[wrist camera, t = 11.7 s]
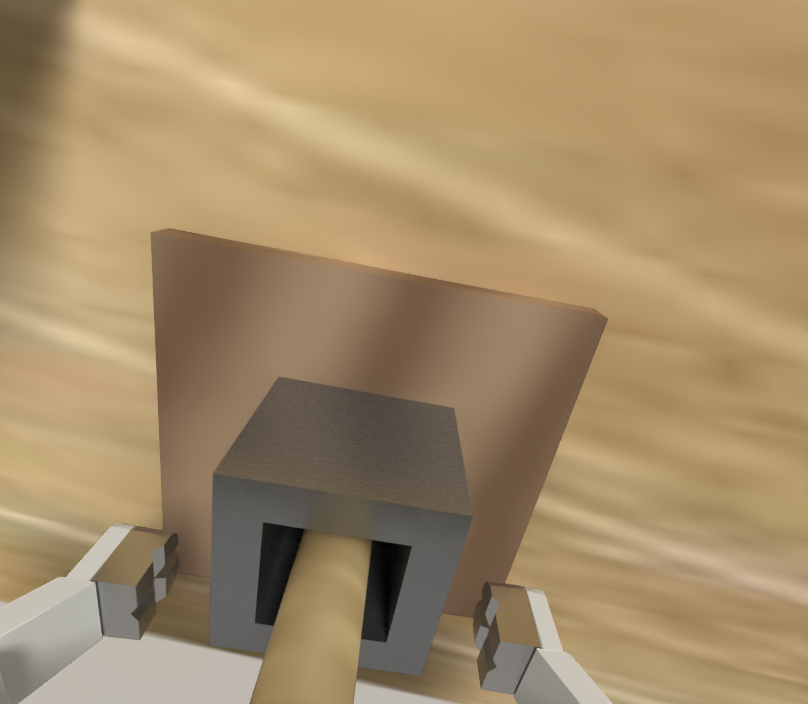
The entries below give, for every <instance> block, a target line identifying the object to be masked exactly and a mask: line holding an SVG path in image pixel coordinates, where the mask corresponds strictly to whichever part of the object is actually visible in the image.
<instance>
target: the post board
mask: <svg viewBox="0 0 808 704" xmlns="http://www.w3.org/2000/svg"><path fill="white" fill-rule="evenodd" d="M151 250H152V273H153V297H154V321H155V344H156V368H157V392H158V415H159V439H160V462H161V486H162V510H163V531H167V532H172V533H176V534H178V541H179V544H178V545H177V547H176V548H175V550H174V551H175V552H176V553H177V554H178V556H179V566H178V572H177V573H179V574H185V575H192V576H199V577H205V578H211V538H212V490H213V472H214V471H215V469H216V468H217V466H218V465H219V463H220V462H221V460H222V459H223V458H224V456H225V455H226V453H227V452H228V450H229V449H230V447H231V446H232V444H233V443H234V441H235V440H236V439H237V437H238V436H239V434H240V433H241V431H242V430H243V428H244V427H245V425H246V424H247V422H248V421H249V419H250V418H251V417H252V415H253V414H254V412H255V411H256V409H257V408H258V406H259V405H260V403H261V402H262V400H263V399H264V397H265V396H266V395H267V393H268V392H269V390H270V389H271V387H272V386H273V384H274V383H275V381H276V380H277V378H278V377H284V378H290V379H296V380H301V381H307V382H312V383H318V384H323V385H329V386H335V387H340V388H346V389H351V390H357V391H362V392H368V393H374V394H379V395H385V396H390V397H396V398H401V399H407V400H413V401H418V402H424V403H429V404H435V405H441V406H446V407H452V408H454V410H455V416H456V421H457V427H458V433H459V438H460V444H461V450H462V456H463V461H464V467H465V473H466V479H467V484H468V490H469V496H470V502H471V507H472V513H473V518H472V521H471V524H470V527H469V530H468V533H467V537H466V540H465V543H464V546H463V549H462V552H461V555H460V558H459V561H458V564H457V567H456V570H455V573H454V576H453V579H452V582H451V585H450V588H449V591H448V594H447V597H446V601H445V604H444V607H443V610H442V613H444V614H451V615H458V616H464V617H471V618H474V611H475V608H476V605H477V602H478V601H480V600H482V599H483V597H482V588H483V586H484V584H485V583H486V581H489V582H496V583H504V584H505V581H506V579H507V576H508V574H509V571H510V569H511V566H512V564H513V561H514V558H515V556H516V553H517V551H518V548H519V546H520V543H521V540H522V538H523V535H524V533H525V530H526V528H527V525H528V523H529V520H530V517H531V515H532V512H533V510H534V507H535V505H536V502H537V500H538V497H539V494H540V492H541V489H542V487H543V484H544V482H545V479H546V476H547V474H548V471H549V469H550V466H551V464H552V461H553V459H554V456H555V453H556V451H557V448H558V446H559V443H560V441H561V438H562V436H563V433H564V430H565V428H566V425H567V423H568V420H569V418H570V415H571V412H572V410H573V407H574V405H575V402H576V400H577V397H578V395H579V392H580V389H581V387H582V384H583V382H584V379H585V377H586V374H587V371H588V369H589V366H590V364H591V361H592V359H593V356H594V354H595V351H596V348H597V346H598V343H599V341H600V338H601V336H602V333H603V331H604V328H605V325H606V323H607V320H608V319H607V318H606V317H605V316H603V315H602V314H600V313H599V312H598V311H596V310H594V309H589V308H584V307H578V306H573V305H568V304H563V303H557V302H552V301H547V300H542V299H536V298H531V297H526V296H521V295H515V294H510V293H505V292H500V291H494V290H489V289H484V288H479V287H473V286H468V285H463V284H458V283H452V282H447V281H442V280H437V279H431V278H426V277H421V276H416V275H410V274H405V273H400V272H395V271H389V270H384V269H379V268H374V267H368V266H363V265H358V264H353V263H348V262H342V261H337V260H332V259H327V258H321V257H316V256H311V255H306V254H300V253H295V252H290V251H285V250H279V249H274V248H269V247H264V246H258V245H253V244H248V243H243V242H237V241H232V240H227V239H222V238H216V237H211V236H206V235H201V234H195V233H190V232H185V231H180V230H174V229H164V230H159V231H154V232H151ZM371 547H372V540H371V539H364V538H358V537H352V536H346V535H340V534H333V533H327V532H321V531H315V530H309V529H304V531H303V535H302V538H301V541H300V544H299V547H298V551H297V554H296V557H295V560H294V563H293V567H292V570H291V573H290V576H289V579H288V583H287V586H286V589H285V592H284V595H283V598H282V602H281V605H280V608H279V611H278V614H277V618H276V621H275V624H274V627H273V630H272V634H271V637H270V640H269V643H268V646H267V650H266V653H265V656H264V659H263V662H262V666H261V669H260V672H259V675H258V678H257V682H256V685H255V688H254V691H253V694H252V697H251V701H250V704H353V703H354V694H355V685H356V677H357V668H358V659H359V651H360V642H361V634H362V625H363V616H364V608H365V599H366V590H367V582H368V573H369V564H370V556H371Z"/></svg>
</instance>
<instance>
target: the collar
mask: <svg viewBox="0 0 808 704" xmlns="http://www.w3.org/2000/svg"><path fill="white" fill-rule="evenodd" d="M472 518H473V513H472V507H471V502H470V496H469V490H468V484H467V479H466V473H465V467H464V461H463V456H462V450H461V444H460V438H459V433H458V427H457V421H456V416H455V410H454V408H452V407H446V406H441V405H435V404H429V403H424V402H418V401H413V400H407V399H401V398H396V397H390V396H385V395H379V394H374V393H368V392H362V391H357V390H351V389H346V388H340V387H335V386H329V385H323V384H318V383H312V382H307V381H301V380H296V379H290V378H284V377H278V378H277V380H276V381H275V383H274V384H273V386H272V387H271V389H270V390H269V392H268V393H267V395H266V396H265V397H264V399H263V400H262V402H261V403H260V405H259V406H258V408H257V409H256V411H255V412H254V414H253V415H252V417H251V418H250V419H249V421H248V422H247V424H246V425H245V427H244V428H243V430H242V431H241V433H240V434H239V436H238V437H237V439H236V440H235V441H234V443H233V444H232V446H231V447H230V449H229V450H228V452H227V453H226V455H225V456H224V458H223V459H222V460H221V462H220V463H219V465H218V466H217V468H216V469H215V471H214V472H213V490H212V538H211V585H210V633H209V645H210V646H217V647H223V648H230V649H237V650H244V651H251V652H258V653H266V650H267V646H268V643H269V640H270V637H271V634H272V630H273V627H274V624H275V621H276V618H277V614H278V611H279V608H280V605H281V602H282V598H283V595H284V592H285V589H286V586H287V583H288V579H289V576H290V573H291V570H292V567H293V563H294V560H295V557H296V554H297V551H298V547H299V544H300V541H301V538H302V535H303V531H304V529H309V530H315V531H321V532H327V533H333V534H340V535H346V536H352V537H358V538H364V539H371V540H372V547H371V556H370V564H369V573H368V582H367V590H366V599H365V608H364V616H363V625H362V634H361V642H360V651H359V659H358V667H361V668H368V669H375V670H382V671H388V672H395V673H402V674H409V675H416V676H421V674H422V671H423V668H424V665H425V661H426V658H427V655H428V652H429V649H430V646H431V643H432V640H433V637H434V634H435V631H436V628H437V625H438V622H439V619H440V616H441V613H442V610H443V607H444V604H445V601H446V597H447V594H448V591H449V588H450V585H451V582H452V579H453V576H454V573H455V570H456V567H457V564H458V561H459V558H460V555H461V552H462V549H463V546H464V543H465V540H466V537H467V533H468V530H469V527H470V524H471V521H472Z"/></svg>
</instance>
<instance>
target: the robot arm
mask: <svg viewBox="0 0 808 704" xmlns="http://www.w3.org/2000/svg"><path fill="white" fill-rule="evenodd" d="M178 544H179V541H178V534H176V533H172V532H167V531H161V530H156V529H151V528H145V527H140V526H134V525H128V524H122V523H116V524H114V525H112V526H111V527H109V529H108V530H107V531H106V532H105V533H104V534H103V535H102V536H101V538H100V539H99V540H98V541H97V542H96V543H95V544H94V546H93V547H92V548H91V549H90V550H89V551H88V552H87V553H86V555H85V556H84V557H83V558H82V559H81V560H80V561H79V563H78V564H77V565H76V566H75V567H74V568H73V569H72V571H71V572H70V573H69V574H68V575H67V576H66V577H58V578H56V579H54V580H52V581H50V582H48V583H46V584H44V585H42V586H40V587H38V588H36V589H35V590H33V591H31V592H29V593H27V594H25V595H23V596H21V597H19V598H17V599H15V600H13V601H12V602H10V603H8V604H6V605H4V606H2V607H0V704H18V703H19V702H20V701H22V700H23V699H24V698H26V697H27V696H28V695H30V694H31V693H32V692H34V691H35V690H36V689H37V688H39V687H40V686H41V685H43V684H44V683H45V682H47V681H48V680H49V679H50V678H52V677H53V676H54V675H56V674H57V673H58V672H59V671H61V670H62V669H63V668H65V667H66V666H67V665H68V664H70V663H71V662H72V661H74V660H75V659H76V658H78V657H79V656H80V655H82V654H83V653H84V652H85V651H87V650H88V649H89V648H91V647H92V646H93V645H94V644H96V643H97V642H98V641H100V640H101V639H102V636H108V637H117V638H127V639H135V640H140V639H141V637H142V636H143V634H144V632H145V631H146V629H147V627H148V626H149V624H150V622H151V621H152V619H153V617H154V616H155V614H156V602H158V601H159V600H161V599H163V598H164V597H166V596H167V594H168V592H169V590H170V589H171V587H172V585H173V582H174V580H175V577H176V575H177V572H178V566H179V556H178V554H177V553H176V552H175V551H174V550H175V548H176V547H177V545H178ZM482 597H483V599H482V600H480V601H478V602H477V605H476V608H475V611H474V619H473V633H474V642H475V643H476V645H477V646H478V648H479V649H480V650H481V651H480V654H479V656H478V659H477V665H478V672H479V680H480V687H481V689H483V690H488V691H494V692H500V693H505V694H511V695H514V698H515V700H516V702H517V703H518V704H613V703H612V702H611V701H610V700H609V699H608V697H607V696H606V695H605V694H604V693H603V692H602V690H601V689H600V688H599V687H598V686H597V685H596V684H595V682H594V681H593V680H592V679H591V678H590V677H589V675H588V674H587V673H586V672H585V671H584V670H583V668H582V667H581V666H580V665H579V664H578V663H577V662H576V660H575V659H574V658H573V657H572V656H571V655H570V653H566V652H563V649H562V646H561V642H560V639H559V636H558V633H557V630H556V627H555V624H554V621H553V618H552V614H551V611H550V608H549V605H548V602H547V599H546V596H545V593H544V592H543V590H541V589H535V588H529V587H522V586H518V585H511V584H504V583H496V582H489V581H486V583H485V584H484V586H483V588H482Z"/></svg>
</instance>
